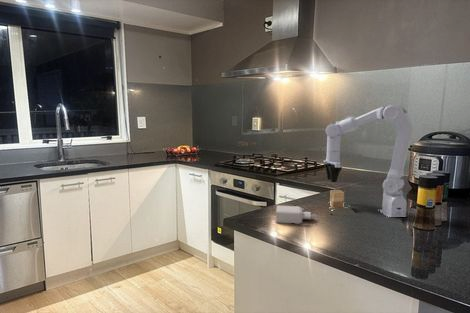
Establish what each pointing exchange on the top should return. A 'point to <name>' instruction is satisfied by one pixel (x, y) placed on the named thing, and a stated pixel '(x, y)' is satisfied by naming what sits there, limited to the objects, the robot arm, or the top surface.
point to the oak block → (336, 198)
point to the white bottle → (291, 214)
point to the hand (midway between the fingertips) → (331, 180)
